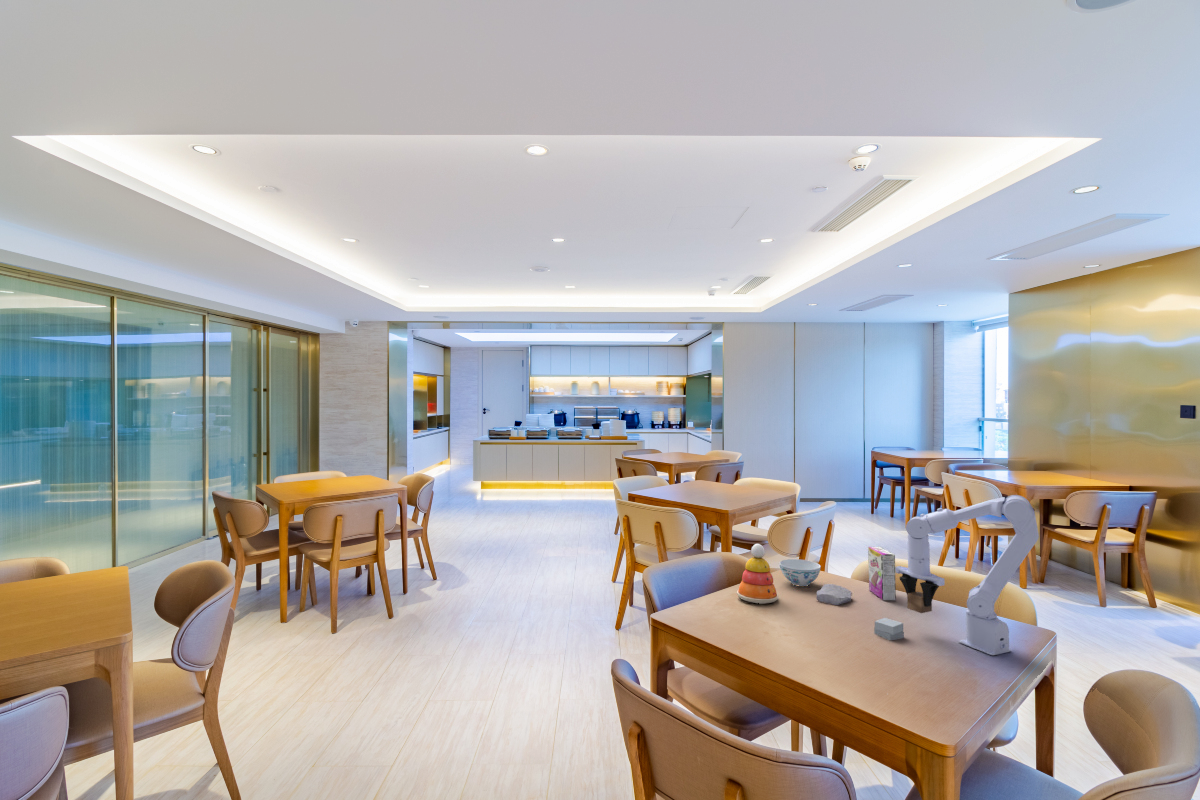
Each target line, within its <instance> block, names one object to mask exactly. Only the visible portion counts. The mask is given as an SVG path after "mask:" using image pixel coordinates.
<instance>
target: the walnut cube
mask: <svg viewBox="0 0 1200 800" xmlns="http://www.w3.org/2000/svg"><path fill="white" fill-rule="evenodd" d="M906 598H907V603H906V604H907V607H906V608H907V609H909V610H911V611H914V612H916V613H919V614H925V613H929V612H933V609H932V608H933V606H932V605H933V602H932V603H931V606H928V607H926V606H924V602H923V592H921V591H917V590H916V592H911V593H906Z"/></svg>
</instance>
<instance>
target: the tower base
mask: <svg viewBox="0 0 1200 800" xmlns="http://www.w3.org/2000/svg"><path fill="white" fill-rule="evenodd" d="M873 629H874V630H873V633H874V634H875V635H876V636H878V637H880V638H883V639H885V640H888V641H889V642H890V641H895V640H900V639H904V638H905V632H904V630H903V631H901V632H899V633H896V634H894V635H892V634H889V633H886V632H883V631H880V630H877V629H875V627H874V628H873Z"/></svg>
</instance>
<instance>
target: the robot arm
mask: <svg viewBox="0 0 1200 800" xmlns="http://www.w3.org/2000/svg"><path fill="white" fill-rule="evenodd" d="M919 515H920V516H913V517H912V518H910V519H909V521H907V523H906V525H905V531H906V533H907V567H906V566H901V565H898V566H895V574H897V575H898V574H901V576H899V581H900V582H901V583H902V586H903V587H904V589H905V592H906V594H907V593H911V592H917V590H916V589H917V583H918V580H921V582H919V585H920V587H921V590H922V593H923V602H924V606H926V607H928V606H931V603H932V604H933V599H934V596H935V593H936V592H937V590H938V588H939V587H941V586H945V582H946V581H945V577H944V578H943V577H940V576H938V575H937V574H936V575H935V574H934V573H932V572H931V560H930V557H931V556H930V555H931V554H930V542H929V534H937V533H940V532H944V531H949V530H953V529H955V528H957V526H958V524H959V522H964V521H969V520H972V519H976V518H980V517H985V516H992V517H998V518H1002V516H1003V515H1004V517H1005V519H1007V520H1008V521H1009V522H1010V523H1011V525H1012V528H1013V530H1014V533H1015V534H1014V536H1013V537H1012V538H1011V540H1010V541H1009V543H1008V544H1007V546H1006V547H1005V549H1004V550H1003V551H1002V553H1001V554H1000V556H999V557H998V558H997V560H996V562H994V564H993V565H992V567H991V568H990V570H989V572H988V573H987V574H986V576H985V577H984V578H983V579H982V580H981V581H980V583H979V584H978V585H977V586H975V587H972V588H971V589H970V590H969V592H968V598H967V600H966V607H967V608H966V609H965V620H966V621H965V622H966V623H965V625H966V629H965V631H966V634H965V635H966V636H965V637H966V638H965V639H961V640H960V639H959V641H958V642H959V643H960V644H963V645H964V646H967V647H969V648H972V649H975V650H977V651H980V652H982V653H984V654H986V655H987V654H988V655H990V656H997V655H1002V654H1004V653H1009V652H1011V651H1012V649H1011V648H1010V634H1009V633H1010V629H1009V625H1008V624H1007V623H1006V622H1005V621H1003V620H1001V619H1000V618H998V615H997V613H996V612H995V604H996V602H997V601H998V599H999V597H1000V595H1001V592H1002V591H1003V589H1004V588H1005V587H1006V585H1007V584H1008V582H1009V581H1010V580H1011V579H1012V577H1013V575H1014V574H1015V573H1016V571H1017V570H1018V568H1019V567H1020V566H1021V564H1022V563H1023V561H1024V560H1025V558H1026V557H1027V556H1028V554H1029V553H1030V552H1031V550H1032V549H1033V548H1034V546H1035V544H1036V543H1037V542H1038V541H1039V537H1040V536H1039V535H1040V534H1039V530H1038V523H1037V518H1036V517H1037V516H1036V513H1035V509H1034V508H1033V506H1032V505H1031V503H1030V501H1029V500H1028V499H1027V498H1026V497H1024V496H1022V495H1018V494H1011V495H1008V496H1007V497H1005V496H1001V497H998V498H992V499H989V500H985V501H983V502H979V503H976V504H973V505H969V506H966V507H963V508H960V509H957V510H951V509H949V508H944V509H943V508H942V507H939V508H937V509H936V511H933V512H929V513H926V514H925V513H921V514H919Z"/></svg>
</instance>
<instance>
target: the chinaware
mask: <svg viewBox="0 0 1200 800" xmlns="http://www.w3.org/2000/svg"><path fill="white" fill-rule="evenodd" d="M778 564H779V567H780V570H781V573H782V574H783V577H784V578H786V580H787V581H790V584H791V583H792V584H794V585H799V586H807V585H809V586H810V584H812V583H813V582H815V580H816V579H818V576H819V574H820V571H821V567H822V566H821V565H820V564H819V563H817V562H815V561H811V560H807V559H798V558H796V559H794V558H791V559H790V558H789V559H783V560H781V561H779V563H778ZM792 584H791V585H792ZM794 585H793V586H794Z"/></svg>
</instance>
